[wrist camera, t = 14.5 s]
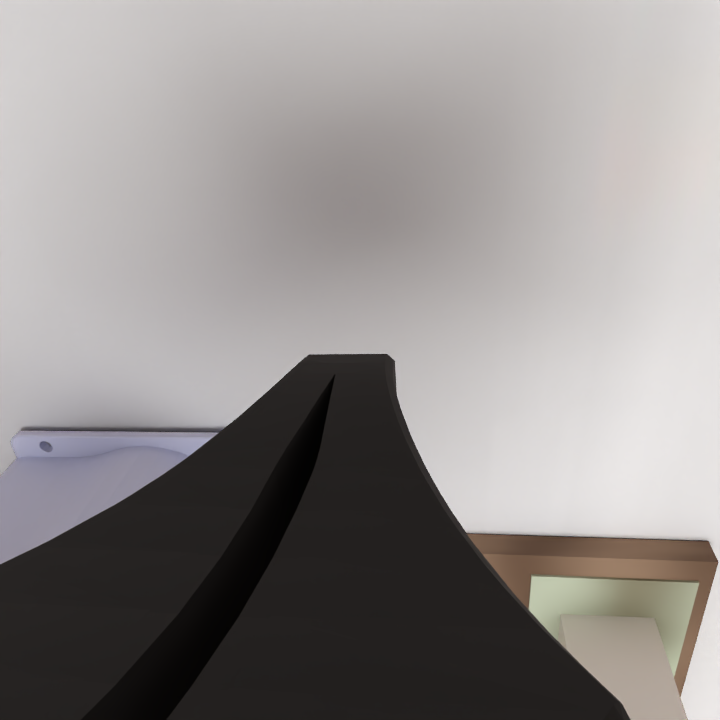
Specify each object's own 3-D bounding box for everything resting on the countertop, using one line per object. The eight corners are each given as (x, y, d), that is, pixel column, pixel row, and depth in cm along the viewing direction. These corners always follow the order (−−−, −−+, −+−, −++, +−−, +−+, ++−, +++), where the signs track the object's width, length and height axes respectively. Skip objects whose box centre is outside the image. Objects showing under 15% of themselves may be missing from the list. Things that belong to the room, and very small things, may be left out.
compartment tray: (368, 763, 34) (362, 826, 32) (339, 529, 26) (327, 589, 23) (643, 786, 32) (660, 855, 30) (708, 541, 24) (739, 608, 21)
